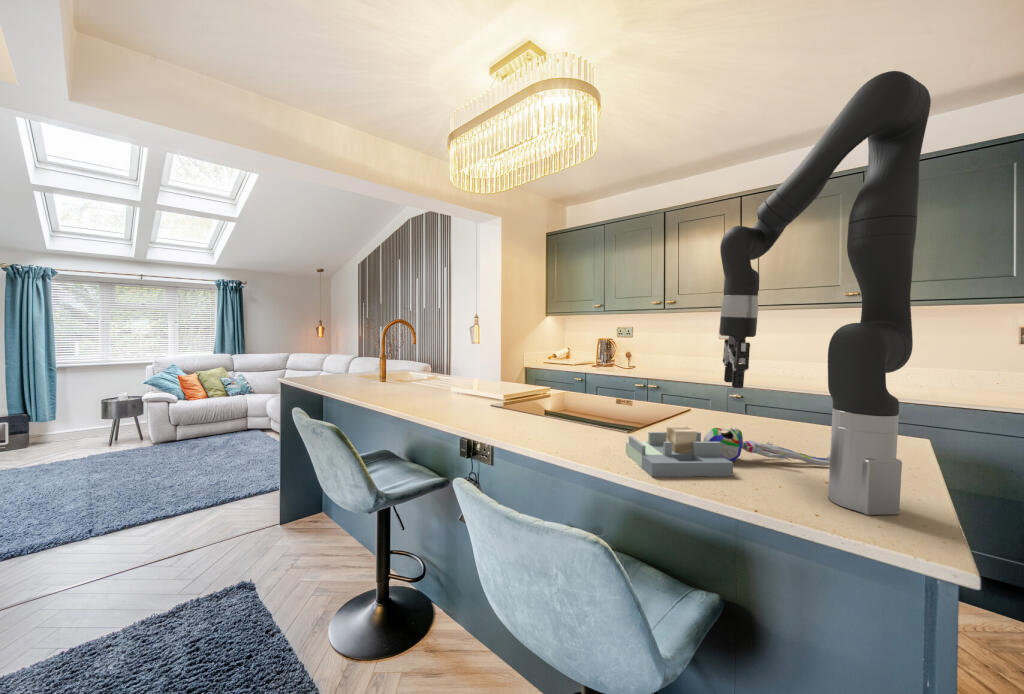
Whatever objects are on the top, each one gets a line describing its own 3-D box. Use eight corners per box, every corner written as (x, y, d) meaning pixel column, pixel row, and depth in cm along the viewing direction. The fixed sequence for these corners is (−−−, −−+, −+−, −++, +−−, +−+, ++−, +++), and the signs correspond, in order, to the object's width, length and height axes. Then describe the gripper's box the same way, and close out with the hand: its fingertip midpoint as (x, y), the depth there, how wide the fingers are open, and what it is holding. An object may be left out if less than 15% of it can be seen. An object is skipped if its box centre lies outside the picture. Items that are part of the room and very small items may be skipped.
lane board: (732, 476, 91) (733, 448, 91) (651, 476, 90) (652, 449, 90) (694, 453, 108) (695, 429, 108) (625, 453, 107) (626, 430, 107)
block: (696, 452, 98) (696, 431, 98) (675, 452, 98) (675, 431, 98) (685, 446, 103) (686, 426, 103) (666, 446, 103) (666, 426, 103)
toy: (855, 454, 94) (715, 427, 98) (847, 490, 94) (708, 462, 99) (828, 442, 104) (702, 418, 108) (821, 475, 104) (696, 450, 109)
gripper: (766, 316, 89) (759, 391, 90) (748, 316, 103) (743, 381, 104) (727, 315, 91) (721, 388, 93) (715, 315, 105) (710, 379, 106)
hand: (732, 384), depth 98 cm, fingers open, 8 cm apart
